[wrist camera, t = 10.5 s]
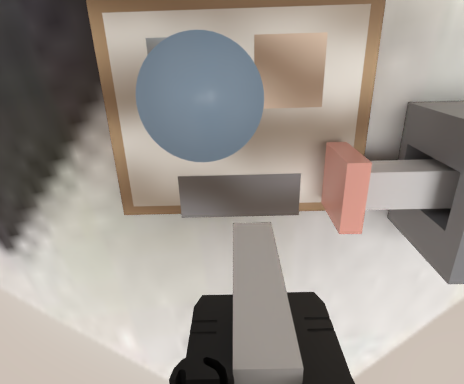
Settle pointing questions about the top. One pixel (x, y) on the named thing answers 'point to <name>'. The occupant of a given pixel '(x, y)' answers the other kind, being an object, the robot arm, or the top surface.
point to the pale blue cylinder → (199, 95)
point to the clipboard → (275, 100)
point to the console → (460, 214)
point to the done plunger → (381, 185)
